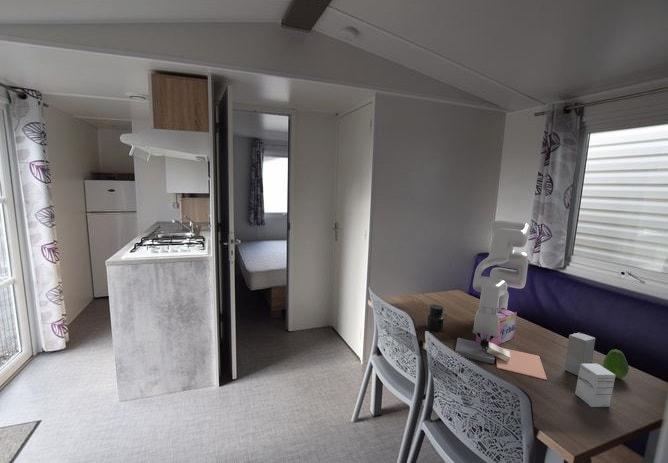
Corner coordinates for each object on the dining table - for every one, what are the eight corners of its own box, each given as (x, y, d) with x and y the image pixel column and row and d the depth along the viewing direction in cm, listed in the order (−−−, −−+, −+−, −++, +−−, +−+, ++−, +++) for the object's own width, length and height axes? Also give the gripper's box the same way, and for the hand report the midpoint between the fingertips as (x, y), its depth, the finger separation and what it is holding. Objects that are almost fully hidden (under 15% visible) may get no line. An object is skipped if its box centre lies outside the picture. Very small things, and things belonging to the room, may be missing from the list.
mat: (495, 347, 156) (495, 346, 156) (539, 356, 149) (539, 355, 149) (496, 368, 138) (497, 367, 138) (546, 380, 131) (546, 379, 131)
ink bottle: (442, 325, 178) (444, 304, 176) (445, 332, 170) (448, 310, 168) (423, 323, 179) (425, 303, 177) (426, 331, 170) (428, 309, 169)
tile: (486, 352, 146) (489, 347, 145) (486, 346, 151) (489, 341, 150) (508, 362, 142) (510, 357, 142) (507, 355, 148) (509, 351, 147)
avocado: (596, 371, 139) (601, 345, 137) (614, 371, 139) (619, 345, 137) (613, 383, 131) (618, 355, 129) (632, 383, 131) (637, 355, 129)
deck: (457, 341, 160) (457, 337, 160) (493, 349, 154) (493, 345, 154) (454, 354, 148) (455, 350, 148) (494, 363, 141) (494, 359, 141)
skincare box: (581, 378, 133) (587, 342, 131) (562, 369, 140) (567, 334, 137) (591, 373, 137) (598, 338, 135) (573, 364, 143) (578, 330, 141)
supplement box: (574, 394, 123) (579, 363, 121) (592, 393, 123) (598, 362, 122) (591, 407, 116) (597, 374, 114) (610, 407, 116) (616, 374, 114)
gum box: (500, 331, 174) (503, 306, 172) (515, 337, 168) (519, 312, 166) (474, 342, 161) (477, 316, 159) (490, 349, 154) (493, 322, 152)
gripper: (506, 309, 147) (501, 348, 149) (470, 303, 153) (466, 340, 155) (507, 315, 140) (502, 355, 143) (470, 308, 146) (465, 347, 149)
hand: (483, 347), depth 149 cm, fingers closed
